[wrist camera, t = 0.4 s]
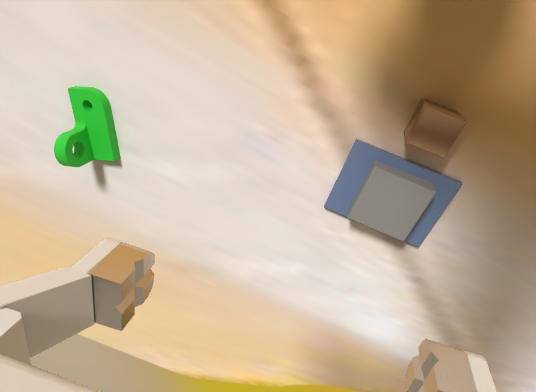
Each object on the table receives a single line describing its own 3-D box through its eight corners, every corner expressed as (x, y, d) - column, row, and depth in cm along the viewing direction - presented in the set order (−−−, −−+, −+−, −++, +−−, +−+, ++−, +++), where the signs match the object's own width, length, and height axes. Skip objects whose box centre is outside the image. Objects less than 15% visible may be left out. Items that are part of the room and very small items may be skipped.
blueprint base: (356, 139, 54) (355, 147, 51) (460, 181, 53) (466, 193, 50) (324, 205, 60) (321, 216, 57) (417, 244, 59) (420, 258, 56)
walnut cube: (422, 98, 50) (427, 106, 45) (457, 112, 49) (466, 122, 45) (403, 131, 52) (406, 142, 48) (437, 145, 52) (443, 157, 47)
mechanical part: (120, 157, 66) (91, 174, 59) (91, 154, 67) (59, 171, 60) (107, 87, 60) (73, 98, 53) (76, 86, 62) (38, 95, 55)
